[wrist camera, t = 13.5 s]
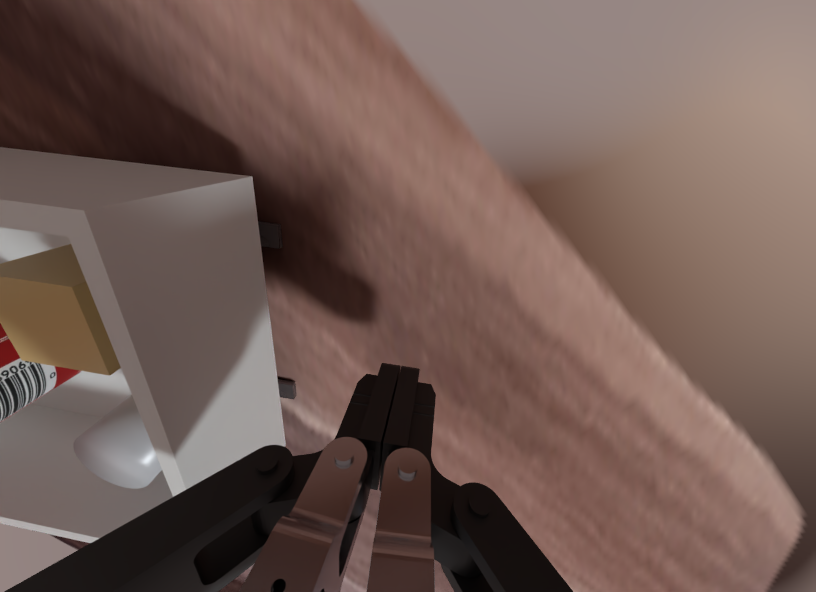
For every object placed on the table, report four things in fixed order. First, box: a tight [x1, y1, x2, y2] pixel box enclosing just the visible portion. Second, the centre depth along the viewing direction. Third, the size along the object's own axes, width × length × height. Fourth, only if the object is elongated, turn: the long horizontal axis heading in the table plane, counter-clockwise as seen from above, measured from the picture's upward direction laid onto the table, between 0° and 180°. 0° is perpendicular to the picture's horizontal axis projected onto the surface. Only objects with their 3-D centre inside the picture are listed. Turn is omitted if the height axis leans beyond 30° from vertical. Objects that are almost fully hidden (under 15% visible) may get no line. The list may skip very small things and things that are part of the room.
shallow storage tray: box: [0, 147, 286, 543], centre depth 13 cm, size 14×18×7 cm
